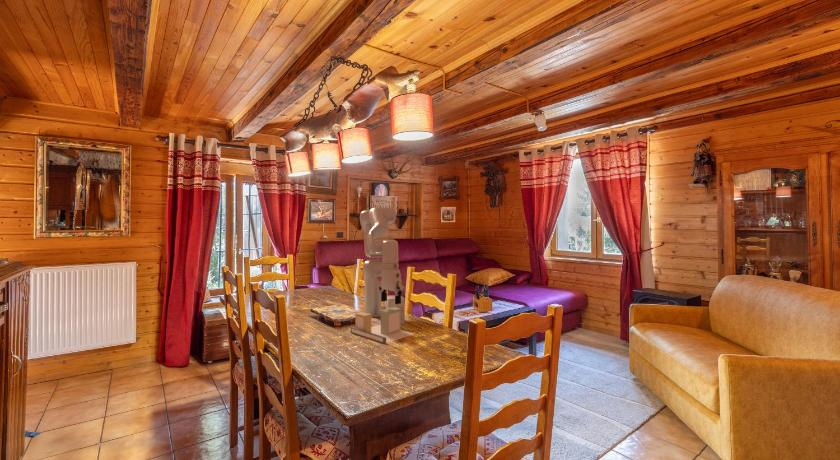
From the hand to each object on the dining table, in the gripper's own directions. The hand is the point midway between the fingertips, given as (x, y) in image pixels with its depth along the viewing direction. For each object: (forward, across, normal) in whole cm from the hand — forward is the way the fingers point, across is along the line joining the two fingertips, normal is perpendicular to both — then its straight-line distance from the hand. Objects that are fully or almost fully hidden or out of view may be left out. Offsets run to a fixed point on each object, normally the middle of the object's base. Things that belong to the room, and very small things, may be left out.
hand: (391, 302), depth 187 cm
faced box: (+14, +10, +9) cm, 20 cm away
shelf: (+16, +3, +3) cm, 16 cm away
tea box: (+14, +1, 0) cm, 15 cm away
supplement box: (+16, +12, -13) cm, 24 cm away
